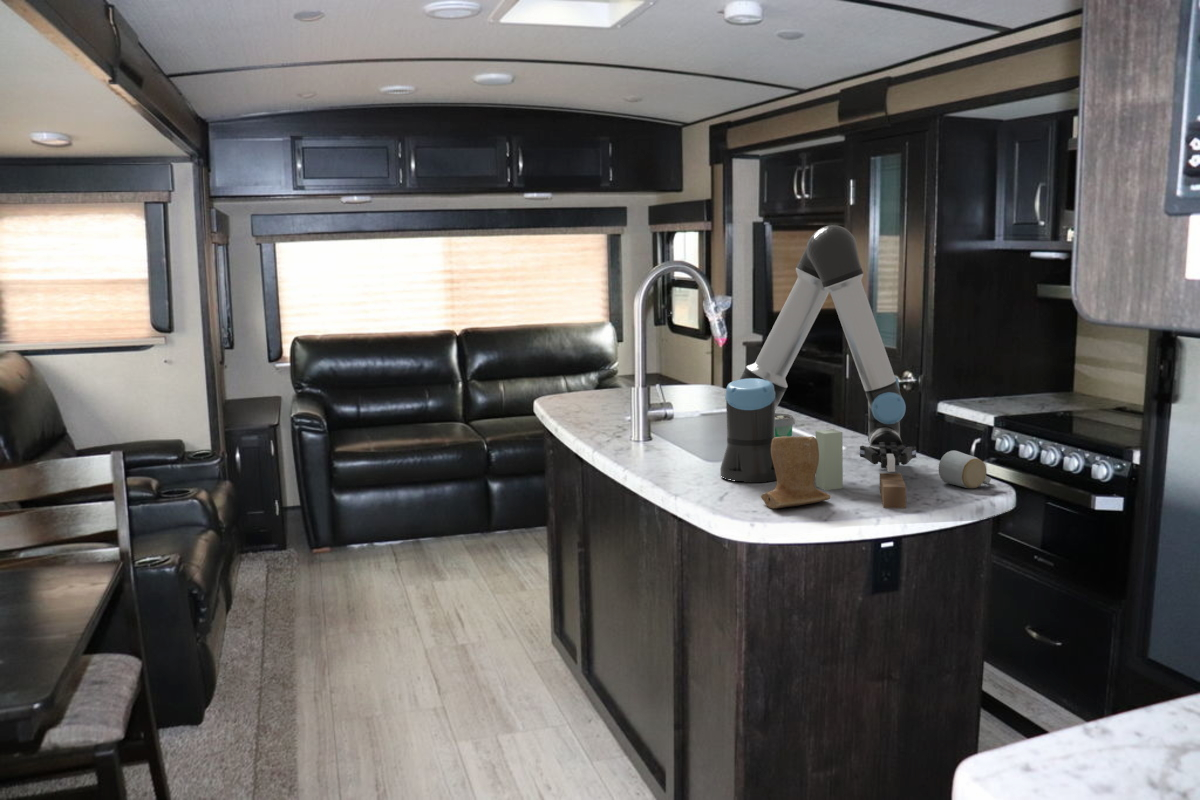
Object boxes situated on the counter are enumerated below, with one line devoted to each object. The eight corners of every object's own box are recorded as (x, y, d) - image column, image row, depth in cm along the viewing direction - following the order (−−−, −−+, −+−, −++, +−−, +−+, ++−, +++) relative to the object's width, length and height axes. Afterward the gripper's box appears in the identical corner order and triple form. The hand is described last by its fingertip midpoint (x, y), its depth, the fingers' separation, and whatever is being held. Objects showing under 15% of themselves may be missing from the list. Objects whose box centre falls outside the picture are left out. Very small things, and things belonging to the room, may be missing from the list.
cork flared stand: (804, 494, 219) (803, 428, 217) (838, 504, 208) (837, 435, 206) (747, 502, 213) (746, 435, 211) (778, 514, 202) (777, 442, 200)
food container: (795, 456, 263) (794, 419, 262) (771, 456, 264) (771, 419, 263) (795, 447, 275) (795, 412, 274) (773, 447, 276) (772, 412, 275)
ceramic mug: (963, 491, 216) (964, 457, 215) (937, 484, 223) (938, 451, 223) (999, 486, 220) (1001, 453, 219) (972, 480, 228) (973, 447, 227)
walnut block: (879, 492, 218) (883, 507, 204) (879, 472, 217) (883, 486, 204) (900, 493, 217) (905, 508, 203) (900, 473, 216) (906, 487, 203)
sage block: (824, 490, 222) (824, 433, 221) (815, 485, 227) (815, 430, 225) (842, 488, 223) (842, 432, 222) (833, 484, 228) (833, 429, 226)
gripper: (914, 461, 234) (922, 482, 211) (858, 460, 237) (860, 481, 215) (914, 430, 233) (923, 448, 210) (858, 430, 236) (860, 448, 214)
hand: (891, 465), depth 213 cm, fingers closed
